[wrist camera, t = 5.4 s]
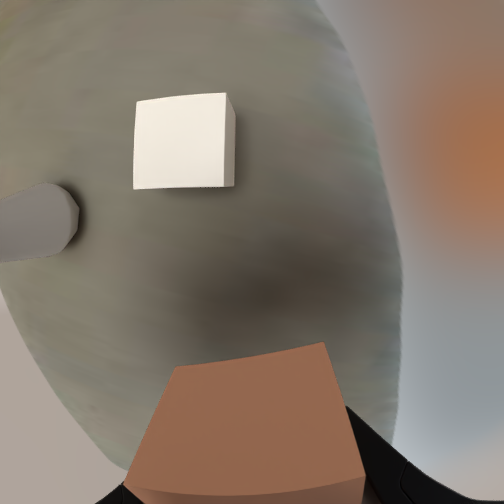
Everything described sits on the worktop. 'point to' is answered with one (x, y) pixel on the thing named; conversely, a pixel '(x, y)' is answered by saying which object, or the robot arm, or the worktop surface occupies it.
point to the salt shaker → (36, 222)
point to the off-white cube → (184, 142)
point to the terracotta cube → (251, 435)
